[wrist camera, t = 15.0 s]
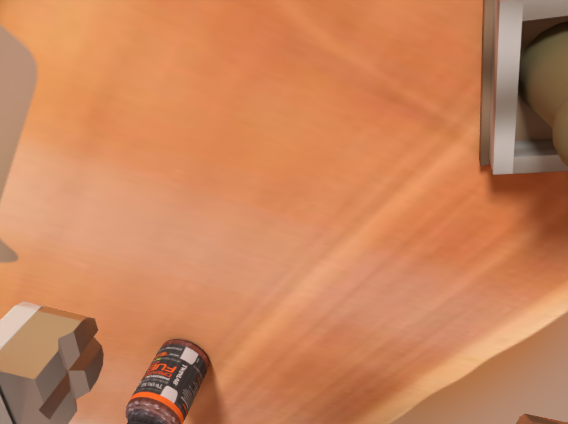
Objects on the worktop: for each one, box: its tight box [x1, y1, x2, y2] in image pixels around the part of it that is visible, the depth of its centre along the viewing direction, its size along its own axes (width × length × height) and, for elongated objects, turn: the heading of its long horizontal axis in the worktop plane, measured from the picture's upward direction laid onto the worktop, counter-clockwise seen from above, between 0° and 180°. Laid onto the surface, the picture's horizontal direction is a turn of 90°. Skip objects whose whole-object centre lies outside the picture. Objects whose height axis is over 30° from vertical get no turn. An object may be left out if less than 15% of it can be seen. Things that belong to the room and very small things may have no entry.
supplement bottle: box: [126, 339, 209, 424], centre depth 52 cm, size 6×6×11 cm
